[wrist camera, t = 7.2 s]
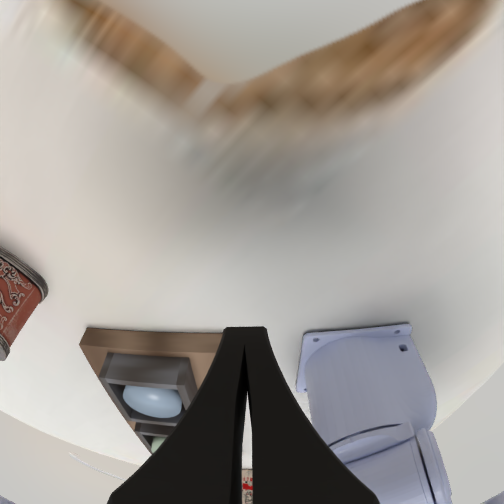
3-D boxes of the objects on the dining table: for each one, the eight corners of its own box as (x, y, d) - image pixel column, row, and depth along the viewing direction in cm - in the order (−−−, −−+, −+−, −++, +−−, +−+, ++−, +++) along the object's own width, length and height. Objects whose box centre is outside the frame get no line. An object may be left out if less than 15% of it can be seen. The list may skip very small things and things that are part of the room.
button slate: (177, 370, 22) (173, 389, 20) (188, 402, 24) (186, 419, 23) (120, 366, 22) (114, 384, 20) (137, 398, 24) (133, 414, 23)
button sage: (195, 432, 25) (193, 448, 24) (202, 449, 28) (201, 464, 26) (148, 428, 25) (145, 443, 24) (160, 446, 28) (158, 459, 26)
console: (224, 333, 23) (221, 381, 19) (241, 454, 36) (241, 482, 32) (87, 327, 23) (67, 368, 19) (159, 449, 36) (155, 476, 32)
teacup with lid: (273, 468, 40) (275, 531, 30) (262, 482, 45) (264, 535, 35) (197, 464, 39) (193, 528, 29) (197, 478, 44) (193, 532, 34)
